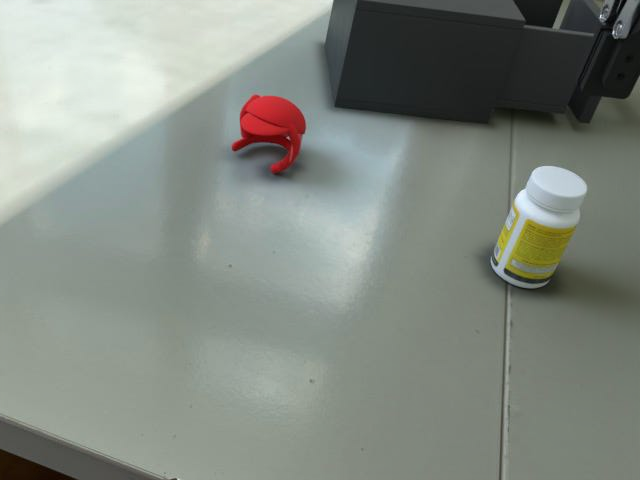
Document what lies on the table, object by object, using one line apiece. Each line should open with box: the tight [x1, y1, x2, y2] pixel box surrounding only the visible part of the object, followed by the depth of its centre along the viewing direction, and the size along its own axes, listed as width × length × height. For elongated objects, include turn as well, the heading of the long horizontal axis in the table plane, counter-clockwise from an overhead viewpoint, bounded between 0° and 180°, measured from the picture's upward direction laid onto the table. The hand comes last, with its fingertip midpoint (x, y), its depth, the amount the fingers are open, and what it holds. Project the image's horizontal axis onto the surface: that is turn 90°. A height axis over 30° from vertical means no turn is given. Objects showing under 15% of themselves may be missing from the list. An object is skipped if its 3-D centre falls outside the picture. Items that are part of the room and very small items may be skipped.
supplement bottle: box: [490, 165, 588, 289], centre depth 59 cm, size 5×5×8 cm
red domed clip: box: [231, 94, 307, 174], centre depth 67 cm, size 8×6×6 cm
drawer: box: [494, 0, 606, 125], centre depth 81 cm, size 21×13×9 cm, turn 90°
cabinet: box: [324, 0, 526, 125], centre depth 80 cm, size 16×14×11 cm
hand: (600, 90), depth 51 cm, fingers closed
